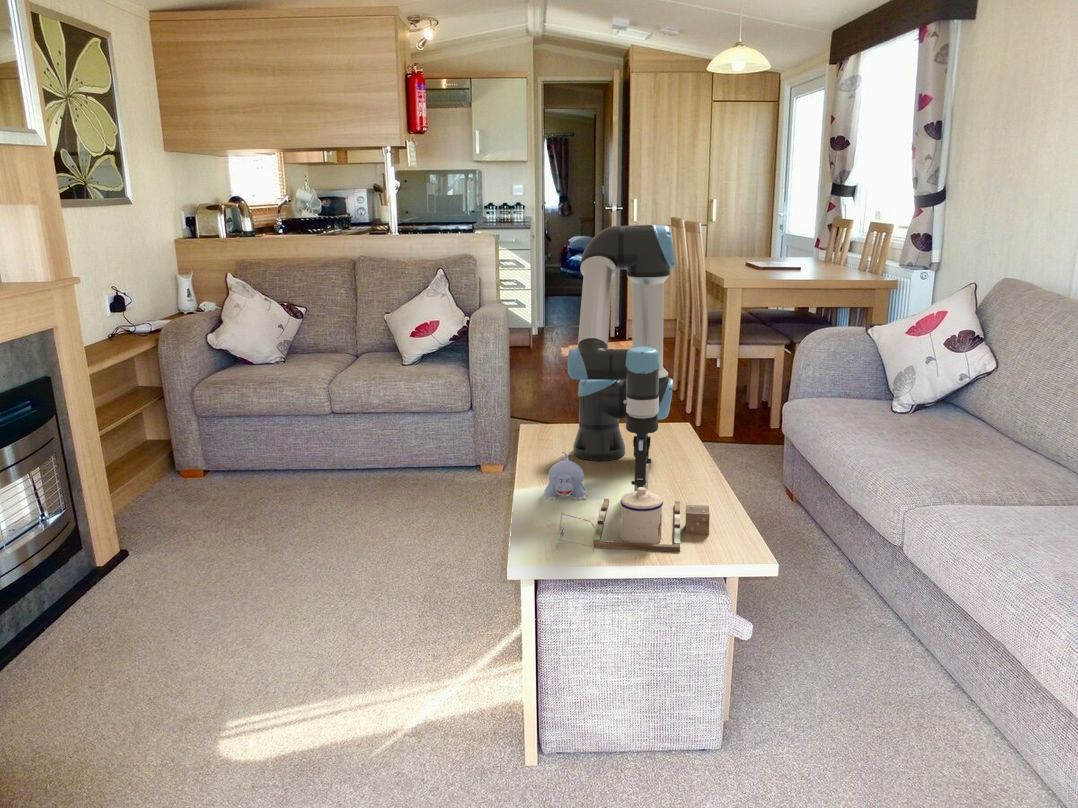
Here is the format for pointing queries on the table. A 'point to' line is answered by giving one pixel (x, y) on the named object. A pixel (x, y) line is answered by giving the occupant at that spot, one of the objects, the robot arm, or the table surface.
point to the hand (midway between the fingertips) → (641, 499)
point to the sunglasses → (563, 532)
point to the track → (636, 546)
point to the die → (697, 519)
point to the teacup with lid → (641, 517)
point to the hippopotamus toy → (565, 480)
